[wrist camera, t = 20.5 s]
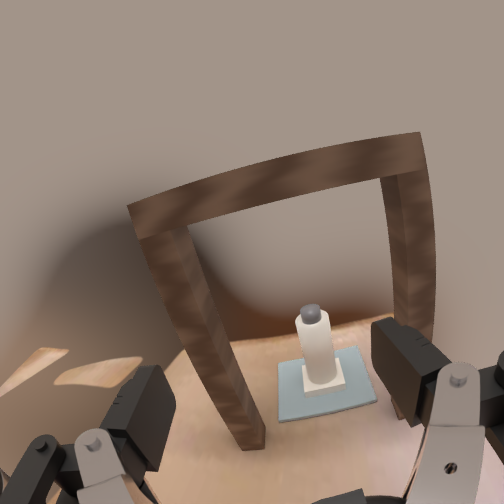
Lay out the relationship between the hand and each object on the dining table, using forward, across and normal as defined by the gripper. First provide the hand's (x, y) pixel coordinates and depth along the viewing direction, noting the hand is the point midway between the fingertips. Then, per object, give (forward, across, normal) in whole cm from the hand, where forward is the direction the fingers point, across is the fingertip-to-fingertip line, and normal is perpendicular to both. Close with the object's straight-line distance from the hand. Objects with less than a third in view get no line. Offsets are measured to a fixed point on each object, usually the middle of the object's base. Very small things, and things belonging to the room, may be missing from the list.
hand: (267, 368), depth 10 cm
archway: (+16, -5, +25) cm, 30 cm away
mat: (+25, -6, +24) cm, 35 cm away
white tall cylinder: (+25, -6, +23) cm, 35 cm away
